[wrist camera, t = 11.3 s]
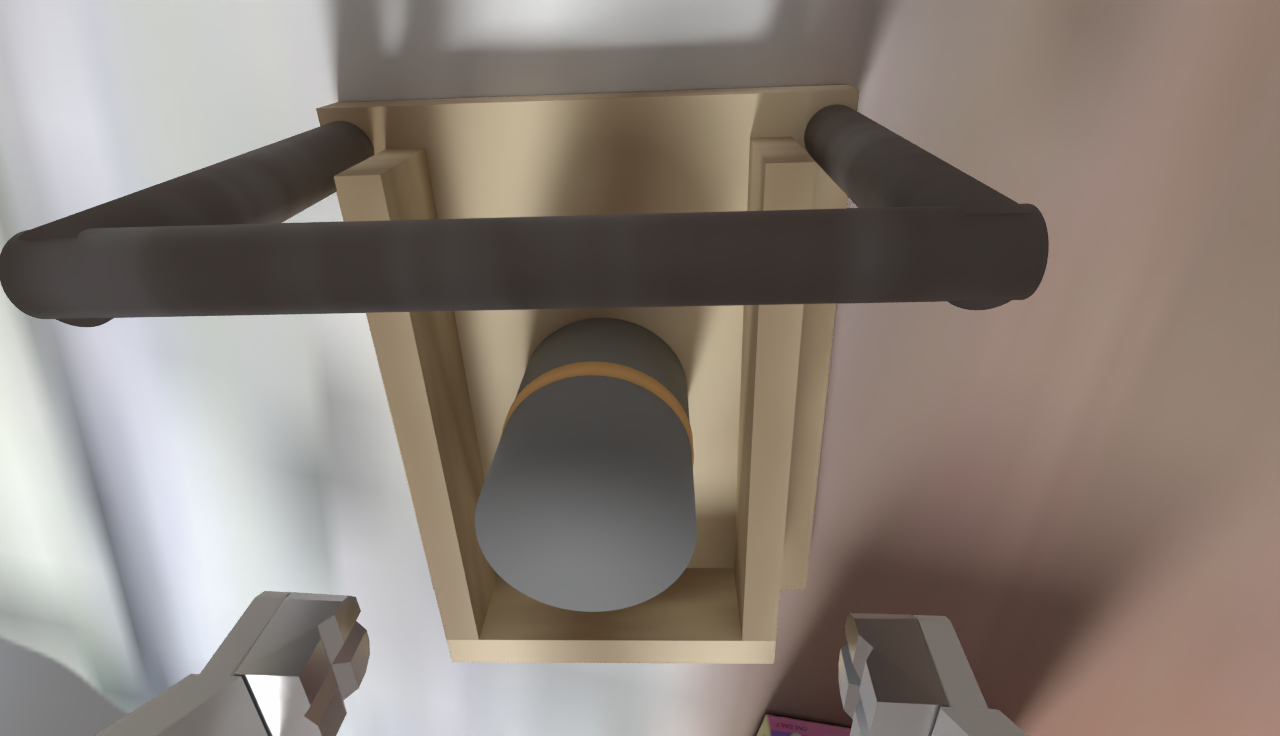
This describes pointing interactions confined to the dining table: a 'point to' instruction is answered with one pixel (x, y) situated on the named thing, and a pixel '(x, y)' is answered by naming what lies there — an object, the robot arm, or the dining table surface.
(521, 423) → the gray domed cylinder
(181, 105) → the dining table surface
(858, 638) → the robot arm
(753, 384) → the wooden tray with handle
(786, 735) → the box
